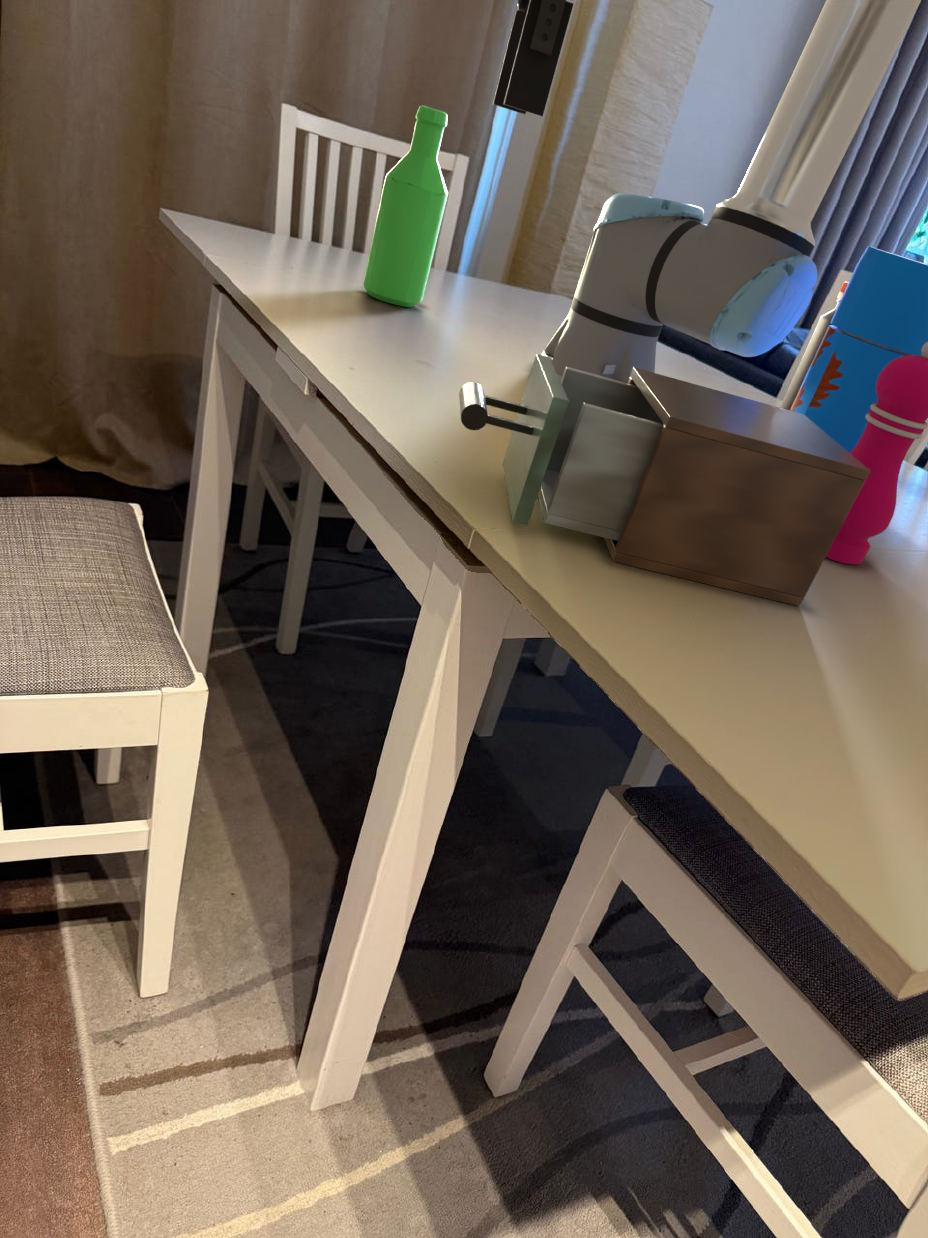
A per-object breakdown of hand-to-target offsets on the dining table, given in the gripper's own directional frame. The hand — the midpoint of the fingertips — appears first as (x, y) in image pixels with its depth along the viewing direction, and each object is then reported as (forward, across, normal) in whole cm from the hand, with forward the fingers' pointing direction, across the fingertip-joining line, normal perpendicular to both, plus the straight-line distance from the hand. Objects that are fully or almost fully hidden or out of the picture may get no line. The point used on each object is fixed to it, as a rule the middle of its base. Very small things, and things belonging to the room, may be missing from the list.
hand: (515, 110), depth 66 cm
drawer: (+26, +9, +11) cm, 29 cm away
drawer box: (+27, +9, +22) cm, 36 cm away
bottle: (+27, -60, -6) cm, 66 cm away
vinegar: (+27, -49, +55) cm, 78 cm away
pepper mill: (+27, 0, +39) cm, 48 cm away
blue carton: (+27, -17, +44) cm, 54 cm away
